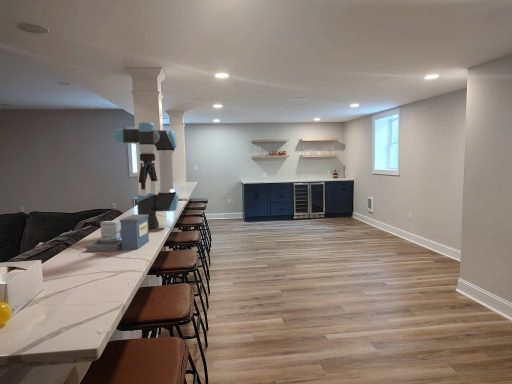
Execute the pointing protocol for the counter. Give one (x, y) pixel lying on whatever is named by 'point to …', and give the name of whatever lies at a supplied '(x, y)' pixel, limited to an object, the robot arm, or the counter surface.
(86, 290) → the counter surface
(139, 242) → the housing unit
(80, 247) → the counter surface
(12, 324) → the counter surface
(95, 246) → the tray
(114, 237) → the ink box
